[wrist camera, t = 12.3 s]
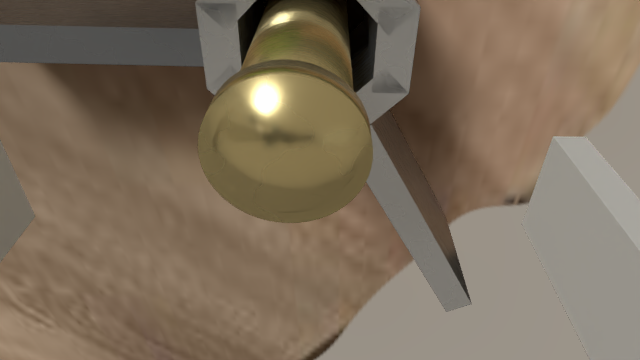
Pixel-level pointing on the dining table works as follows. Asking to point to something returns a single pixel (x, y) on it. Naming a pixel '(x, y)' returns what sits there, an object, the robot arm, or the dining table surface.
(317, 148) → the pin
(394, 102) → the hinge
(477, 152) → the dining table surface
